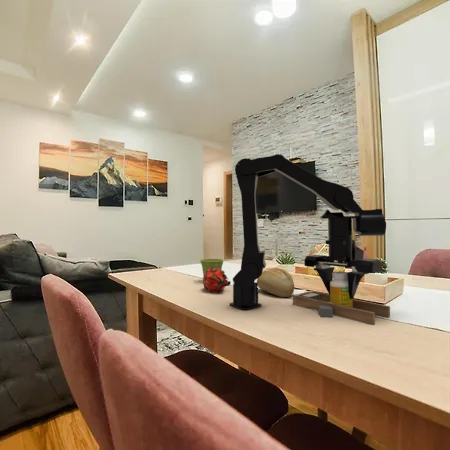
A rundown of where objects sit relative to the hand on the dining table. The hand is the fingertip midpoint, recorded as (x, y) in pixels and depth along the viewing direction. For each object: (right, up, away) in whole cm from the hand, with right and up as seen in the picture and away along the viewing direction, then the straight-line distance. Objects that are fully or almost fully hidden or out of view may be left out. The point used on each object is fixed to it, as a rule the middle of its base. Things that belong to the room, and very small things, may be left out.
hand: (341, 296), depth 76 cm
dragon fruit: (-33, -4, +23) cm, 41 cm away
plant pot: (-35, -4, +38) cm, 52 cm away
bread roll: (-14, -4, +20) cm, 24 cm away
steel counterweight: (-6, -4, +7) cm, 10 cm away
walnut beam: (0, -4, 0) cm, 4 cm away
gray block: (-5, -4, -4) cm, 8 cm away
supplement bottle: (0, -4, 0) cm, 4 cm away
